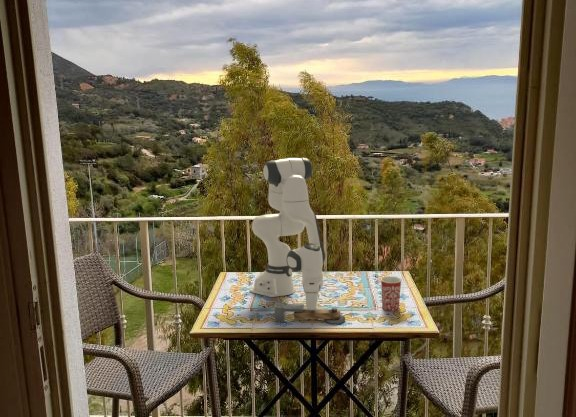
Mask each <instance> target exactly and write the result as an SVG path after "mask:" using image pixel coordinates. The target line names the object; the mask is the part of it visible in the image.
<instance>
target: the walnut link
mask: <svg viewBox="0 0 576 417" xmlns="http://www.w3.org/2000/svg"><path fill="white" fill-rule="evenodd" d="M340 315H341V310H340V309H338V308H337V307H332V308H331V309H318V308H316V310H307V308H304V310H303V312H293V319H295V320H324V319H333V320H337V319H340Z"/></svg>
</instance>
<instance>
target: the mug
mask: <svg viewBox="0 0 576 417" xmlns="http://www.w3.org/2000/svg"><path fill="white" fill-rule="evenodd" d="M402 281H403V280H402V278H400V277H398V276H384V277H381V278H380V282H381V284H380V285H381V288H380V289H381V307H382V309H383V311H387V312H396V311H399V309H400V298H401V287H402Z"/></svg>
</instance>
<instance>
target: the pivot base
mask: <svg viewBox="0 0 576 417" xmlns="http://www.w3.org/2000/svg"><path fill="white" fill-rule="evenodd" d="M323 322H325V323H326V324H329V325H341V324H344V323H345V322H346V317H345V316H344V315H343V314H340V319H337V320H333V319H323Z"/></svg>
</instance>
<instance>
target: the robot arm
mask: <svg viewBox="0 0 576 417" xmlns="http://www.w3.org/2000/svg"><path fill="white" fill-rule="evenodd" d="M262 172H263V174H262V175H263V177H264V180H265V182H267V183H268V199H267V201H268V204H269V206H270V207H271V208H272V209H274V210H275V211H278V213H269V214H262V215H258V216H256V217H255V218H253V221H252V225H251V228H252V229H251V230H252V232H253V233H254V235H255V236H256V237H257V238H259V239H260V240H262V242H263V243H264V245H265V247H266V249H267V259H268V263H266V264H264V266H263V269H265V270H264V271H263V272H262V273H260V274H259V275H258V276H256V278H254V284H253V285H252V286H251V287H250V288H249V292H250V293H252V294H253V293H254V294H256V295H257V294H258V295H262V296H265V297H270V298H276V297H283V296H289V295H292V294H294V293H295V291H296V289H295V287H294V283H293V272H301V274H302V276H301V282H302V283H301V285H302V287H303V293H304V294H305V295H304V296H305V302H306V303H305V304H306V309H307V310H316V309H317V304H318V299H319V298H318V297H319V293H320V290H321V288H323V286H324V275H323V274H324V273H323V267H324V266H323V265H324V263H325V261H326V251H325V248H324V246H323V242H322V237H321V231H320V227H319V222H318V218H317V216H316V213H315V211H314V210H313V209H312V208H311V205H310V202H309V190H308V186H307V182H306V181H308V180H310V179H311V178H312V175H313V164H312V162H311V160H310V159H309V158H307V157H287V158H280V159H276V160H274V159H271V160H268V161H266V162H265V163H264V165H263V171H262ZM304 229H306V233H307V240H308V243H305V244H304V245H302V246H300V247H299V248H294V249H291V248H290V246H289V244H287V243H285V242H282V241H280V240H279V237H285V236H294V235H298V234H301V233H302V232H304Z"/></svg>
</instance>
